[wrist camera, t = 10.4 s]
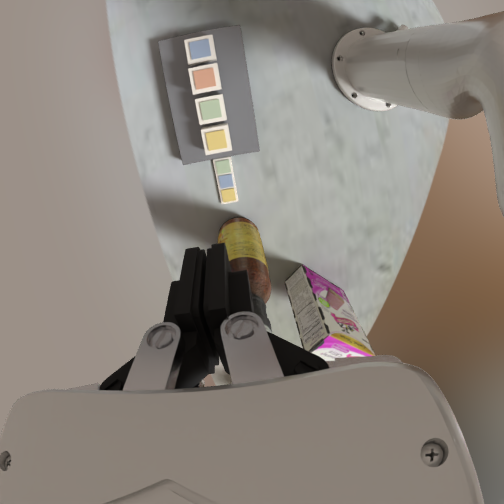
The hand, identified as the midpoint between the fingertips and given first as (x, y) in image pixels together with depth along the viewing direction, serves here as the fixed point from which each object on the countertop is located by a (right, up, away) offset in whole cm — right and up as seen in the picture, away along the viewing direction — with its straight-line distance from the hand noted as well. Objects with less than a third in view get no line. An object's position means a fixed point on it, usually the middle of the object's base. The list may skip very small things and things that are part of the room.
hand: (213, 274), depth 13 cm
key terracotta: (-4, +22, +18) cm, 29 cm away
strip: (-2, +11, +27) cm, 29 cm away
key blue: (-4, +25, +17) cm, 31 cm away
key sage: (-3, +19, +21) cm, 29 cm away
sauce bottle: (0, +4, +32) cm, 32 cm away
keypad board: (-4, +21, +21) cm, 30 cm away
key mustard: (-3, +16, +23) cm, 28 cm away
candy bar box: (+13, -5, +39) cm, 41 cm away
